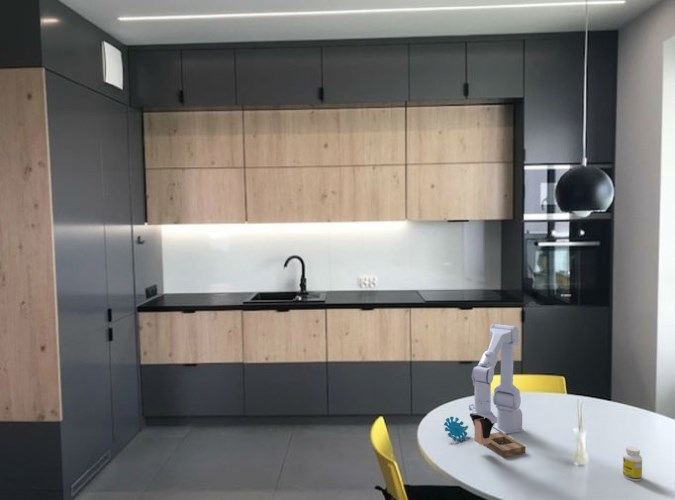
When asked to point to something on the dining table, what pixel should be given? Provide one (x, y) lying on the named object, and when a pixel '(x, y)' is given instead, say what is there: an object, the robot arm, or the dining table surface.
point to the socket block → (508, 449)
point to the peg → (480, 433)
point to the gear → (455, 428)
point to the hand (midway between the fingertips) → (482, 435)
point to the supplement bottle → (632, 464)
